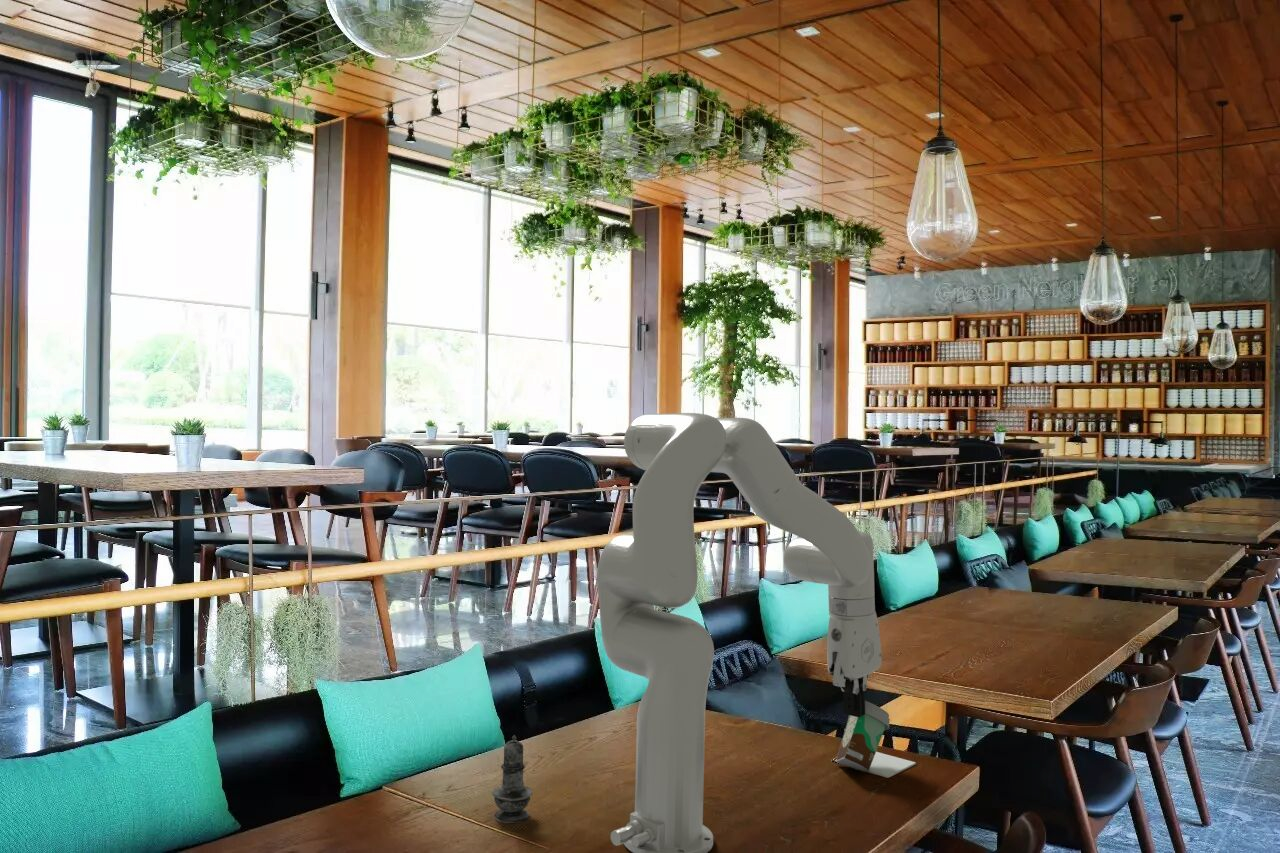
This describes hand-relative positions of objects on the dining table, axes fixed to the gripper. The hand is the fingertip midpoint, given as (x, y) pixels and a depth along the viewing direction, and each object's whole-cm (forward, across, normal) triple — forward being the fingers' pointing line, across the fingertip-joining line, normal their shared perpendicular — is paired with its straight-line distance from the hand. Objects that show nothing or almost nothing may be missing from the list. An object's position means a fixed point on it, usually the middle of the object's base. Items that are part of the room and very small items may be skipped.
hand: (854, 714), depth 157 cm
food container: (+10, +2, +1) cm, 10 cm away
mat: (+12, +10, +2) cm, 15 cm away
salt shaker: (+7, -52, +26) cm, 59 cm away
